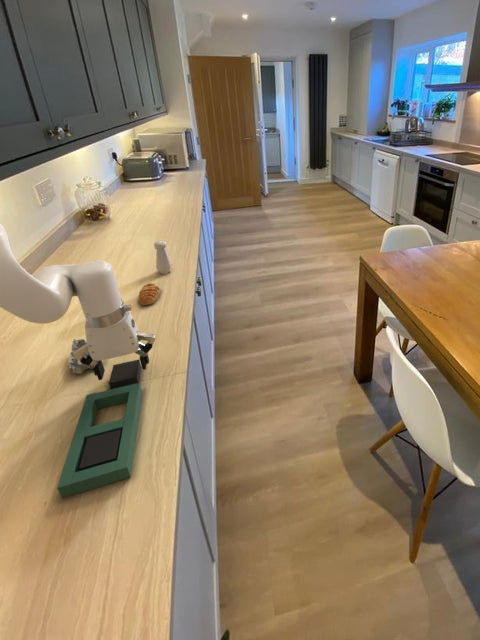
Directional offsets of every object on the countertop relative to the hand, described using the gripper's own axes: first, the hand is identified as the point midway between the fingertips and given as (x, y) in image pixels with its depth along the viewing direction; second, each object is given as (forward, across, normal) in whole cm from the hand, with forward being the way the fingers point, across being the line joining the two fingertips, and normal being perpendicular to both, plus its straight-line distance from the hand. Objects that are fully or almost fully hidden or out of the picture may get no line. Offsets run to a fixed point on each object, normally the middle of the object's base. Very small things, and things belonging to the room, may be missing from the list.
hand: (123, 370), depth 79 cm
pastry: (+3, -2, -37) cm, 37 cm away
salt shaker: (+4, -6, -55) cm, 55 cm away
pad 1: (+3, +1, +20) cm, 20 cm away
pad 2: (+3, 0, 0) cm, 3 cm away
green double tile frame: (+3, +2, +15) cm, 15 cm away
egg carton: (+3, +10, -11) cm, 16 cm away
